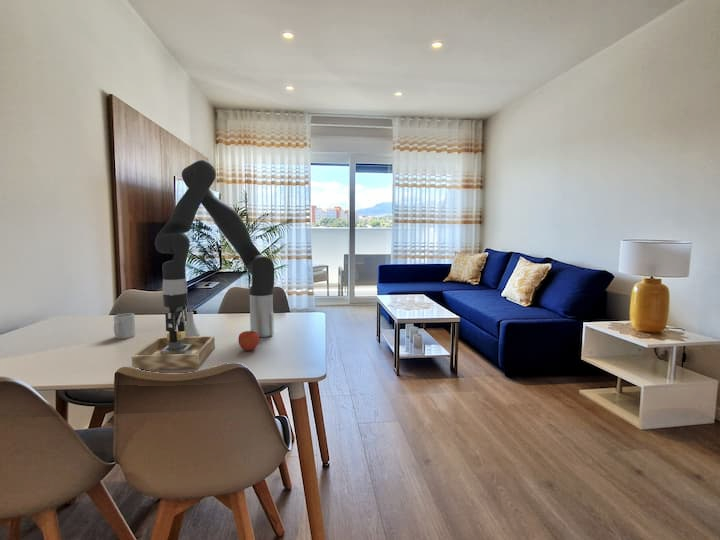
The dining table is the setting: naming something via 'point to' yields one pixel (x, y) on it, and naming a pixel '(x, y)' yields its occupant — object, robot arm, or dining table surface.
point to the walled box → (154, 361)
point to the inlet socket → (170, 352)
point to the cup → (124, 325)
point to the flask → (190, 326)
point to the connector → (180, 341)
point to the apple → (248, 340)
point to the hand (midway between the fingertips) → (177, 338)
